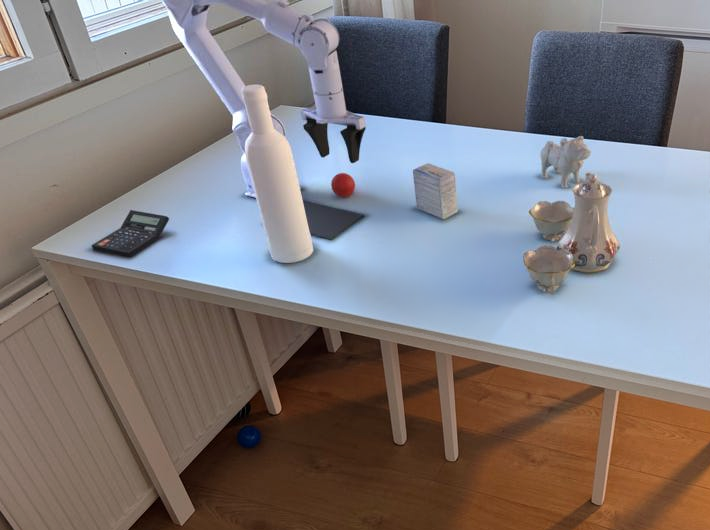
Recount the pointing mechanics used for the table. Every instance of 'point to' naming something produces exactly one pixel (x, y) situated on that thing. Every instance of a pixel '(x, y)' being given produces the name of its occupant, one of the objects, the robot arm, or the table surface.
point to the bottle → (275, 182)
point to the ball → (343, 185)
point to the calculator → (133, 234)
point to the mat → (328, 220)
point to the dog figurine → (564, 158)
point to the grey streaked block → (435, 190)
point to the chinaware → (573, 236)
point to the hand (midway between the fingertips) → (339, 158)
